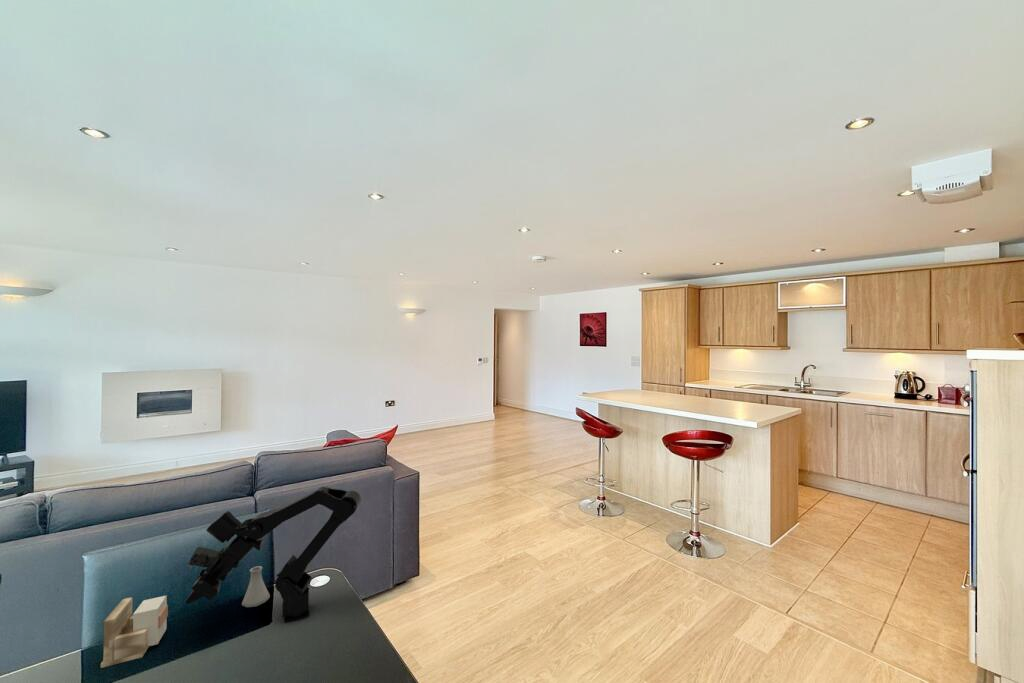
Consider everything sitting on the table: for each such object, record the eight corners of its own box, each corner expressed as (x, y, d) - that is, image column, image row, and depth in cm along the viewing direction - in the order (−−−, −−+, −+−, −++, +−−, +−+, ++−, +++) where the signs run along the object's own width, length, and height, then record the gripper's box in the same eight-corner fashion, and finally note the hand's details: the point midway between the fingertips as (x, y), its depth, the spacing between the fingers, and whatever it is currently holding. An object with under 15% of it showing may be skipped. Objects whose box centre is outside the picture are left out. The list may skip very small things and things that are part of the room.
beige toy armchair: (159, 631, 116) (160, 591, 116) (144, 656, 106) (145, 612, 106) (120, 641, 112) (120, 599, 113) (100, 668, 102) (101, 621, 103)
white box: (168, 628, 115) (168, 595, 115) (159, 643, 109) (159, 608, 109) (143, 634, 113) (143, 600, 113) (132, 650, 106) (133, 614, 107)
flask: (256, 609, 125) (256, 575, 125) (236, 607, 126) (236, 573, 127) (274, 596, 132) (274, 563, 133) (255, 594, 133) (255, 562, 134)
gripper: (218, 525, 126) (172, 571, 121) (202, 550, 109) (147, 604, 104) (248, 546, 129) (204, 592, 123) (237, 573, 112) (186, 627, 107)
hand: (186, 602), depth 114 cm, fingers closed
